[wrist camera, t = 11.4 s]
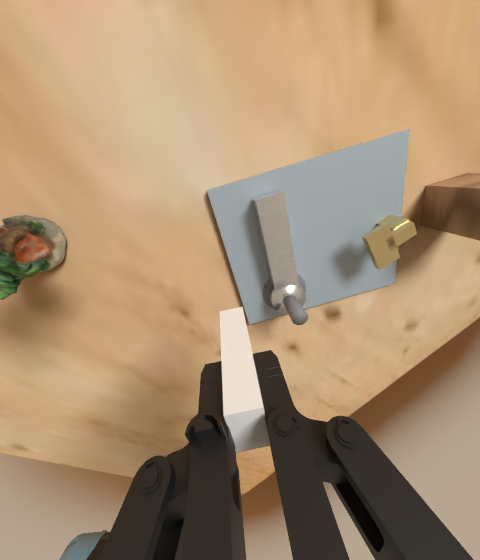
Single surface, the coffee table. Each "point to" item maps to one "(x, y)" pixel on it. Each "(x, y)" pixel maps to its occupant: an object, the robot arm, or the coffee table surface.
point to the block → (454, 206)
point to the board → (316, 224)
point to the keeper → (388, 239)
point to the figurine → (28, 250)
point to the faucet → (278, 248)
